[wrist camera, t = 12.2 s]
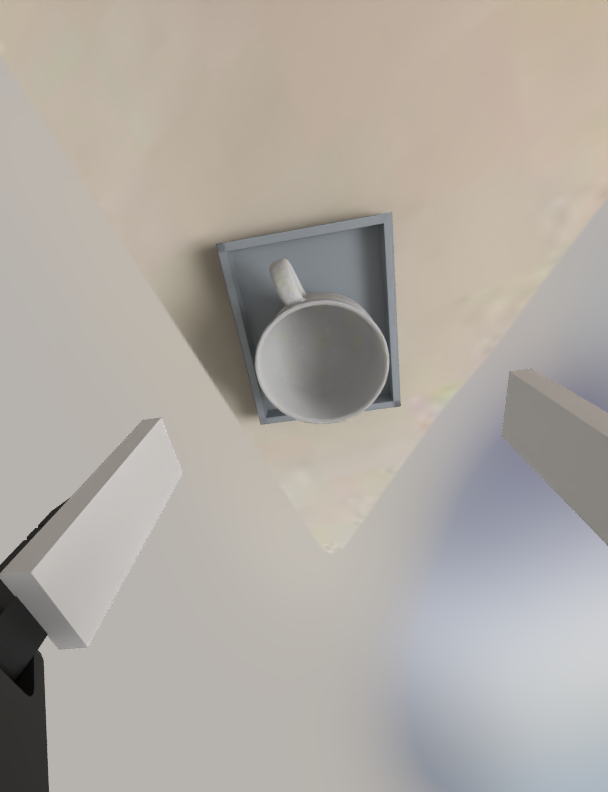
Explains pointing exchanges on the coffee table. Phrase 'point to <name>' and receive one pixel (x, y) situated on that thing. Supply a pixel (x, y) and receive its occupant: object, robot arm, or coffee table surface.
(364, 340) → the teacup
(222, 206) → the coffee table surface
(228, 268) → the tray
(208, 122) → the coffee table surface
